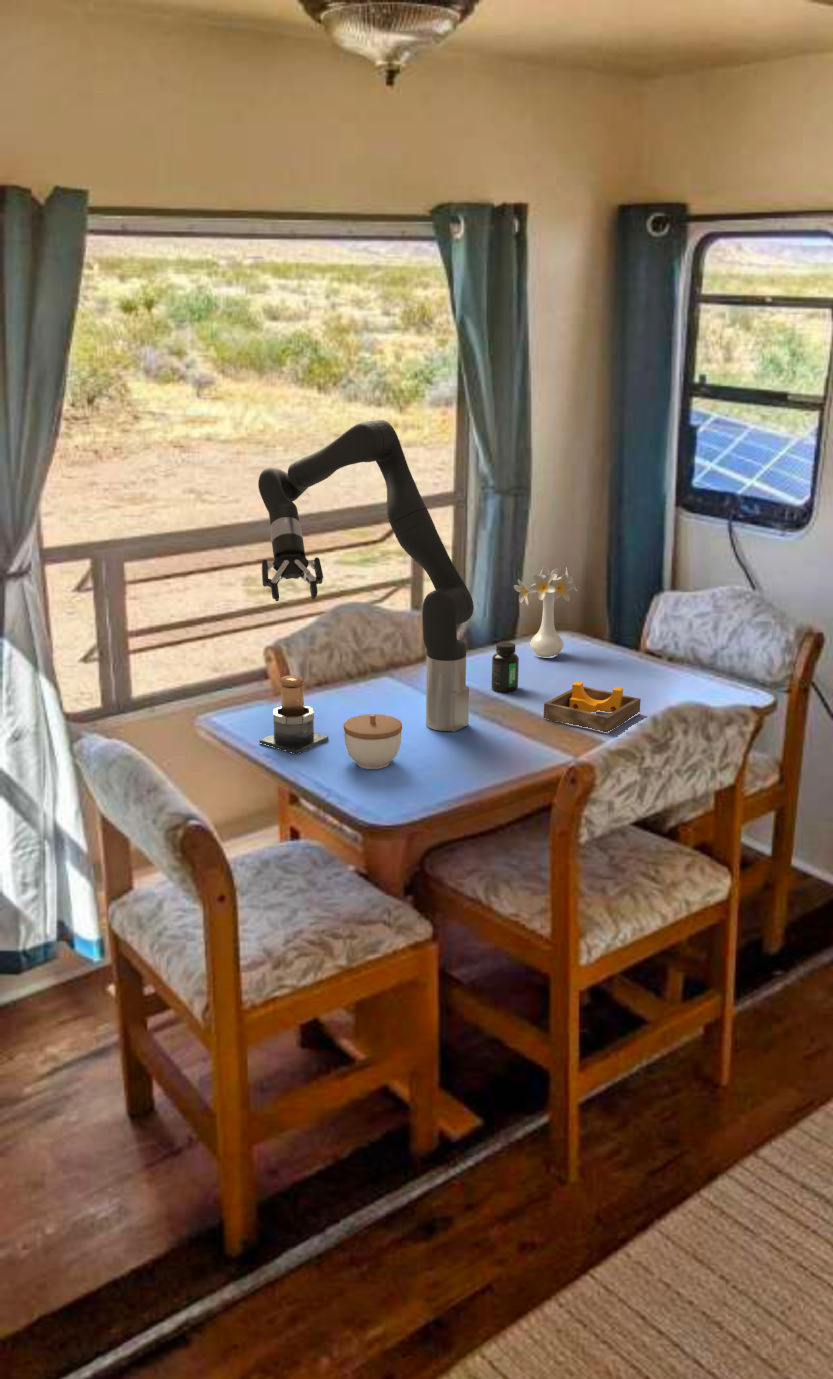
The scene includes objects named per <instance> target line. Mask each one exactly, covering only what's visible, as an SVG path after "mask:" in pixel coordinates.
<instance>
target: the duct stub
mask: <svg viewBox="0 0 833 1379" xmlns="http://www.w3.org/2000/svg"><path fill="white" fill-rule="evenodd" d="M314 712H315V711H314V707H312V706H309V705H305V704H304V715H302V716H292V717H287V716H283V715H282V705H281V706H278V707H275V708H273V709H272V717H273V718H272V720H273V733H272V734H270V735H268V736H265V737H262V738H261V739H259V744H260V743H262V744H266V745H269V746H273V747H275V748H279V749H281V750H280V751H282V750H286V751H287V752H286V753H289V752H292V753H294V754H293V755H295V754H297V755H299V754H301V753H303V751H304V752H305V750H306V751H308V750H310V749H312V748H314V747H318V746H320V745H321V744H324V743H326V742H329V736H328V735H325V734H322V733H318V732H315V725H314V723H315V722H314V721H315V720H314V719H315V713H314ZM262 744H261V745H262ZM275 748H274V749H275ZM300 752H301V753H300ZM292 753H291V754H292ZM298 753H299V754H298Z"/></svg>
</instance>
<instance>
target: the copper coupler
mask: <svg viewBox="0 0 833 1379" xmlns="http://www.w3.org/2000/svg"><path fill="white" fill-rule="evenodd" d="M279 685H280V694H281V695H280V697H281V698H280V699H281V706H282V715H283V716H287V717H292V716H302V715H304V705H305V704H304V703H305V699H304V698H305V697H304V696H305V695H304V685H305V677H303V676H302V675H301V676H300V675H297V674H296V675H292V674H291V675H285V676H282V677H280V678H279Z"/></svg>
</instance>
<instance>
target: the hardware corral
mask: <svg viewBox="0 0 833 1379" xmlns="http://www.w3.org/2000/svg"><path fill="white" fill-rule="evenodd" d="M583 688H584V690H585V692H586V694H587V695H588V696H589V697H591V698H592V699H595V700H606V699H608V698H609V697H611V695H612V692H613V691H612V692H610V691H606V690H602V689H599V688H598V689H597V688H592V687H586V686H584V685H583ZM571 697H572V688H571V689H569V690H567V691H565V692H563V693H561V694H560V695H557V696H555V697H553V698H551V699H549V700H548V701H546V702H545V703H543V704H544V705H543V718H546V719H549V720H552V721H551V722H554V721H558V722H561V723H560V724H562V722H563V723H569V724H573V725H579V726H582V727H588V728H592V729H595V730H600V731H603V732H608V731H610V730H612V729H614V728H616V727H617V726H619V725H621V724H622V723H624V722H625V721H627V720H628V719H629V718H631V717H632V716H634V715H635V714H637V713H638V712H640V713H641V703H642V702H641V699H642V698H638V697H635V696H629V695H624V694H623V698H622V707H621V708H619V709H617V710H615V711H614V712H612V713H610V714H606V715H605V714H601V713H596V714H595V713H591V712H587V711H582V710H578V709H574V708H569V705H570V698H571ZM614 708H615V707H614ZM615 709H616V708H615ZM549 720H548V721H549ZM558 722H557V723H558ZM624 724H625V723H624ZM621 726H622V725H621ZM616 729H617V728H616Z"/></svg>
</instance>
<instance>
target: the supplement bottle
mask: <svg viewBox="0 0 833 1379" xmlns="http://www.w3.org/2000/svg"><path fill="white" fill-rule="evenodd" d="M495 647H496V648H495V652H496V653H494V654H493V656H492V657H491V658H492V659H491V681H490V682H491V686H490V687H491V689H492V691H494V692H496V691H497V693H499V692H501V694H510V693H509V692H511V693H514V691H515V692H516V691H517V690H518V688H519V668H520V667H519V664H520V663H519V662H520V660H519V659H520V658H519V656H518V654H516V644H515V643H514V642H510V641H509V642H508V641H500V642H498V643H496V645H495Z"/></svg>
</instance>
